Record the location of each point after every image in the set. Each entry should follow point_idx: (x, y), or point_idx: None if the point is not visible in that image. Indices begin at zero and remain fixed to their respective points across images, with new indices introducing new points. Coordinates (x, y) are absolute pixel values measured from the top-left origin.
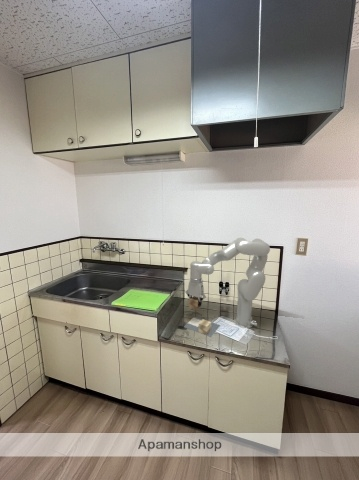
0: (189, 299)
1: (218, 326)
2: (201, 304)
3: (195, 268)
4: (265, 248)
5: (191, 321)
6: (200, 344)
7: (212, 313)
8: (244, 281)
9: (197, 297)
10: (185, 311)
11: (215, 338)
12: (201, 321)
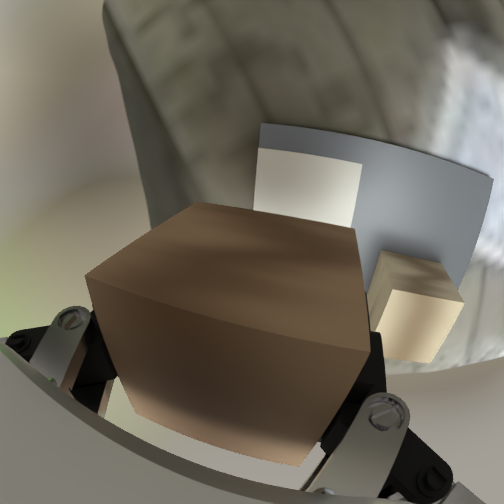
0: (139, 413)
1: (484, 199)
2: (379, 332)
3: None
4: None
5: (269, 210)
6: (386, 371)
7: (378, 8)
8: None
9: (215, 341)
10: (160, 87)
11: (461, 311)
12: (384, 324)
